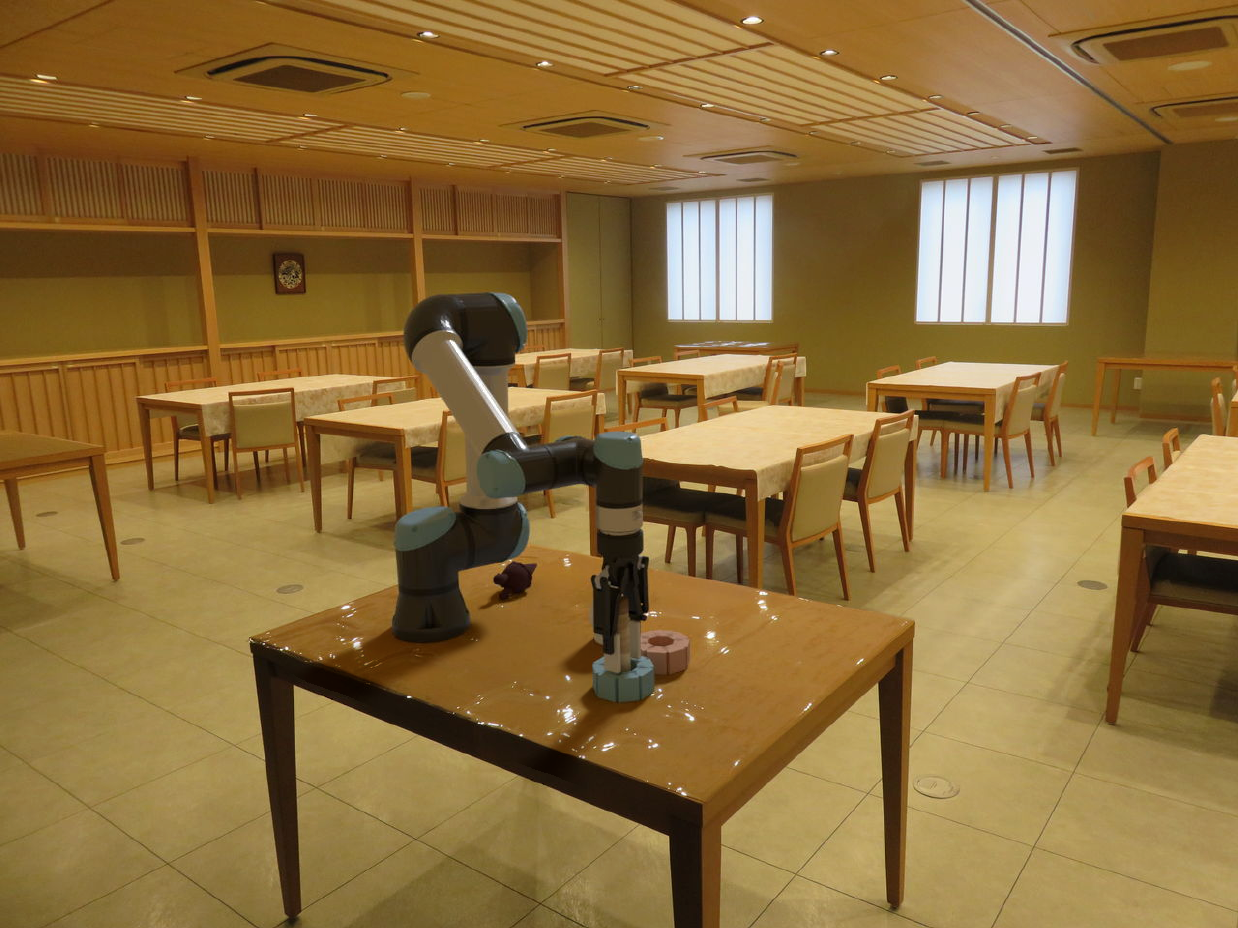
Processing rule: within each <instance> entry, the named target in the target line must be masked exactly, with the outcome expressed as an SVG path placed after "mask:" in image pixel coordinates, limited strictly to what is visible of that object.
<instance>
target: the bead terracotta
mask: <svg viewBox="0 0 1238 928" xmlns="http://www.w3.org/2000/svg"><path fill="white" fill-rule="evenodd" d="M690 640H691V639H690V638H689V637H688V636H686V635H685V634H682V633H680V632H679V631H676V632H675V631H674V630H661V629H660V630H659V629H656V630H653V629H652V630H649V631H645V632H641V656H644V657H647V659H650V661H651V662H652V664H653V666H654V675H663V676H666V675H667V674H668V675H673V674H676V673H679V672H682V671H685V670H686V669H688V667H689V664H690V661H691V657H690V656H691V650H690V649H691V645H690V644H691V641H690Z"/></svg>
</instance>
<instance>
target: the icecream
mask: <svg viewBox="0 0 1238 928" xmlns="http://www.w3.org/2000/svg"><path fill="white" fill-rule="evenodd" d="M537 566H538V564H537V563H535V562H534V563H525V564H524V563H522V562H517V561H515V560H514V561H511V562H510V563H508V564H507V565H506V567H505V568H504V569H503V571H502V572H501V573H499V572H498V573H497V574H495V575H494V577H493V578H492V579H493V581H492V582H493V583H494V584H495V585H496V586H500V587H501V589H502V590H501V591H500V593H499V595H498V598H499V600H500V601H501V602H502V601H504V602H505V601H506V600H508V599H509V597H510V596H511V595H512V593H513V594H514V593H522V592H524V591H525V590H528V589H529V588H531V587H532V580H533V574H534V572H535V569H536V568H537Z"/></svg>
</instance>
